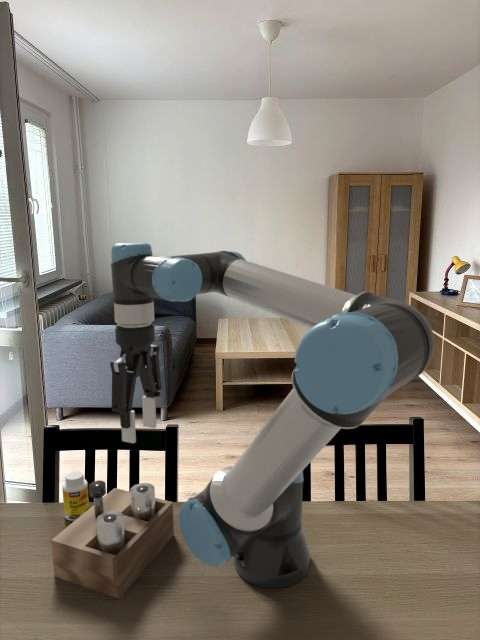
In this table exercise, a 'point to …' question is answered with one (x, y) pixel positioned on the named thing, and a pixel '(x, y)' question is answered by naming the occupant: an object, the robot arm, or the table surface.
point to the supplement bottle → (75, 495)
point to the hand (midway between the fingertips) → (139, 433)
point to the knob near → (111, 532)
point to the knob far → (143, 501)
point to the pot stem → (98, 496)
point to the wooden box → (103, 568)
